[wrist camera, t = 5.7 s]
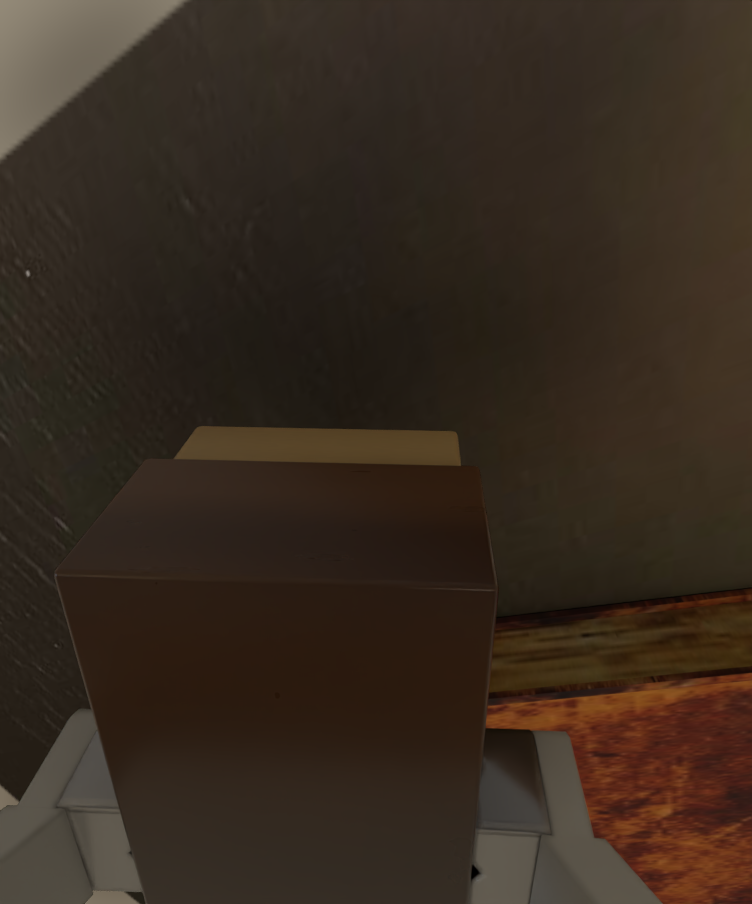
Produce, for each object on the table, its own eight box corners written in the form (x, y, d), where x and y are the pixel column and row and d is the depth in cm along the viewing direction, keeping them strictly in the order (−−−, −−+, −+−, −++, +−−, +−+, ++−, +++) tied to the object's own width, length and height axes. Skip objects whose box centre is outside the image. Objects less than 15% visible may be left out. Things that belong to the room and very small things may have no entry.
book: (453, 623, 33) (458, 702, 28) (993, 559, 29) (1097, 638, 25) (518, 958, 45) (529, 1050, 41) (902, 942, 42) (959, 1040, 37)
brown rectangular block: (181, 411, 10) (49, 571, 6) (471, 417, 10) (500, 587, 6) (242, 810, 14) (182, 1040, 11) (446, 822, 14) (454, 1061, 10)
